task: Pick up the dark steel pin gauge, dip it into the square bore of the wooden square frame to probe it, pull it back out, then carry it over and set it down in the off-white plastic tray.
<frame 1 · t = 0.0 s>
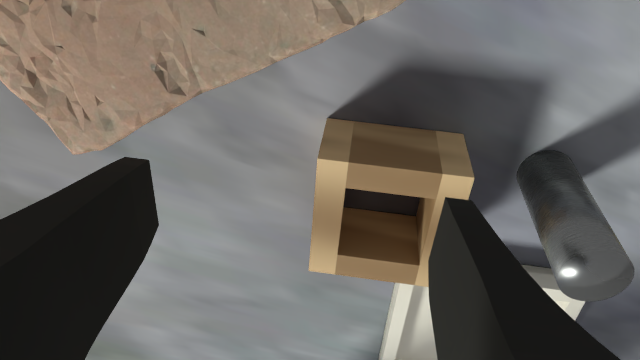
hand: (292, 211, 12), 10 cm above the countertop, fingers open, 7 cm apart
wooden square frame: (384, 181, 23), on the countertop
pin gauge: (544, 173, 22), on the countertop
tray: (468, 318, 28), on the countertop
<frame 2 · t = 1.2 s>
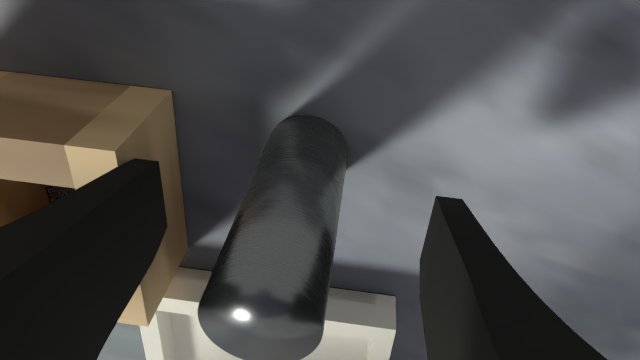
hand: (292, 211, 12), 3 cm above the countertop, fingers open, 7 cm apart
wooden square frame: (90, 166, 16), on the countertop
pin gauge: (307, 151, 15), on the countertop
tray: (269, 357, 20), on the countertop
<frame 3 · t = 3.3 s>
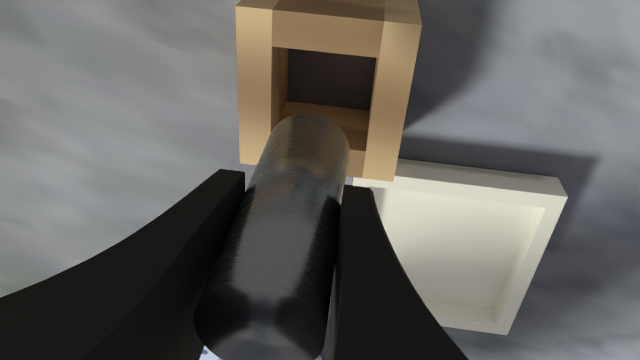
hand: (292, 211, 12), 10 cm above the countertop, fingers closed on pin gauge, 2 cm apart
wooden square frame: (331, 66, 20), on the countertop
pin gauge: (308, 150, 14), point 7 cm above the countertop, touching gripper
tray: (435, 240, 25), on the countertop
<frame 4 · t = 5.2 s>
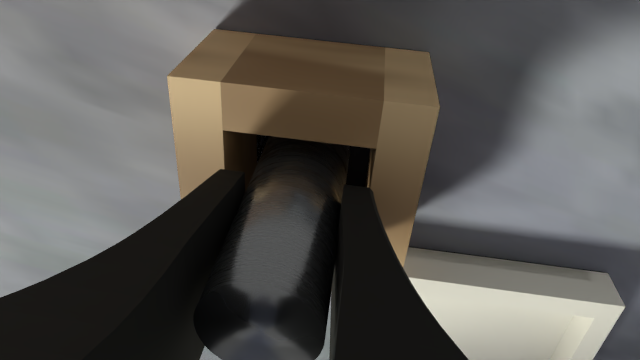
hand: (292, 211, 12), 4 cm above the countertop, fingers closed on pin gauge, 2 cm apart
wooden square frame: (313, 135, 15), on the countertop
pin gauge: (308, 150, 14), point 1 cm above the countertop, touching gripper
tray: (448, 338, 20), on the countertop
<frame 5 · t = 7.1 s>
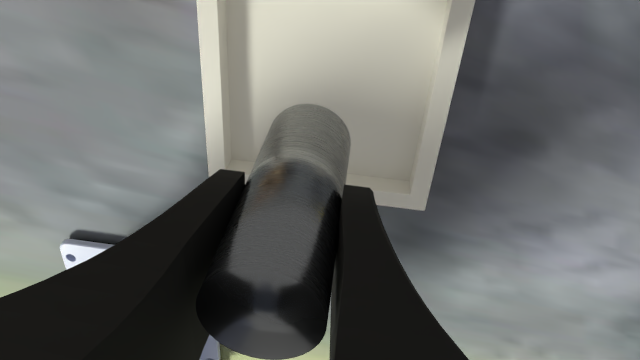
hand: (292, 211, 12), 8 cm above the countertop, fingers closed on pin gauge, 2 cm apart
pin gauge: (309, 141, 14), point 5 cm above the countertop, touching gripper
tray: (327, 81, 19), on the countertop
when the fingers open (3 cm above the countertop, at t = 8.2 s): pin gauge stays where it is, resting on tray.
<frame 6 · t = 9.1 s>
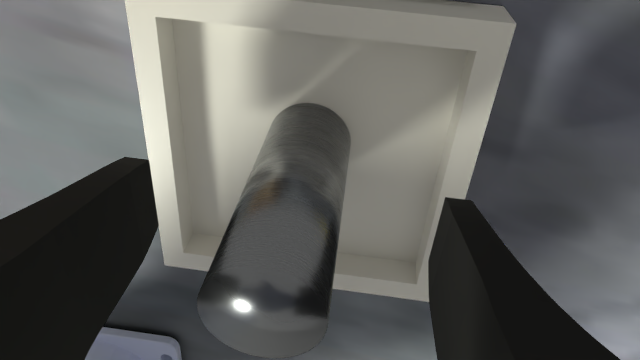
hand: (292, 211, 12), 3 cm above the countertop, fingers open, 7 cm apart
pin gauge: (309, 140, 14), point 1 cm above the countertop, touching tray
tray: (311, 143, 15), on the countertop
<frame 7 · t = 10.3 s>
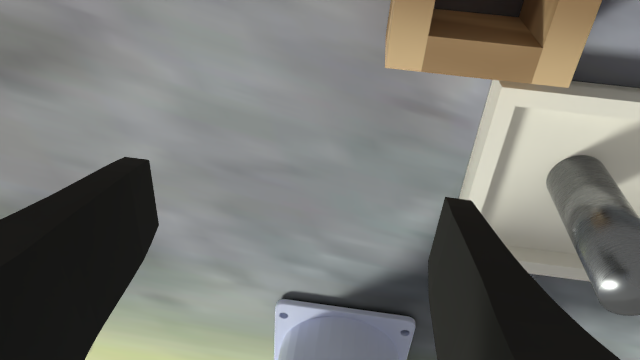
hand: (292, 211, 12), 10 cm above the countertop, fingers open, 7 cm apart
pin gauge: (575, 179, 21), point 1 cm above the countertop, touching tray
tray: (569, 179, 22), on the countertop
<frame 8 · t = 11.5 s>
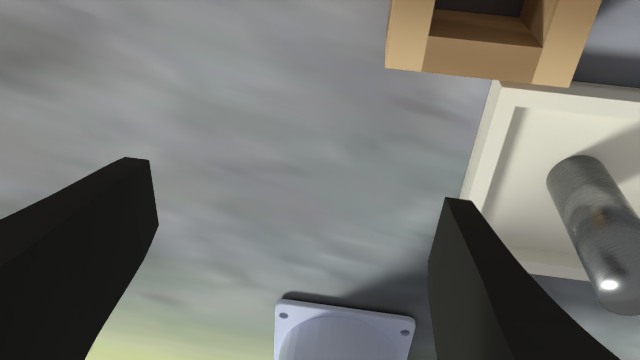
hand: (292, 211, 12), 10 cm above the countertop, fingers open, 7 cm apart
pin gauge: (575, 179, 21), point 1 cm above the countertop, touching tray
tray: (569, 179, 22), on the countertop
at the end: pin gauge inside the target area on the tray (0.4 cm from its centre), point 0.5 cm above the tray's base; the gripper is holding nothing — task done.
